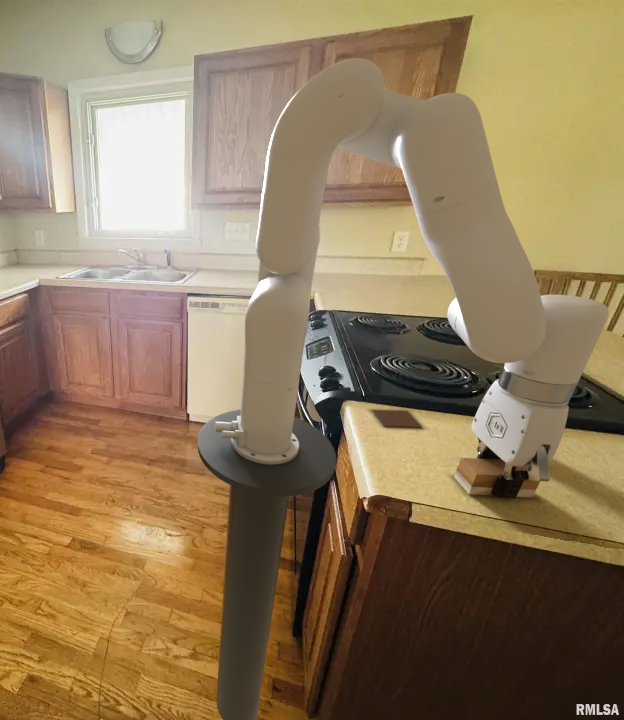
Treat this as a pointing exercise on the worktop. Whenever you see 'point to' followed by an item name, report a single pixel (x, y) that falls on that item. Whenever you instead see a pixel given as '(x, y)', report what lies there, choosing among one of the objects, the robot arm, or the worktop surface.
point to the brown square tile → (396, 418)
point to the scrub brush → (487, 476)
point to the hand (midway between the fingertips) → (492, 484)
